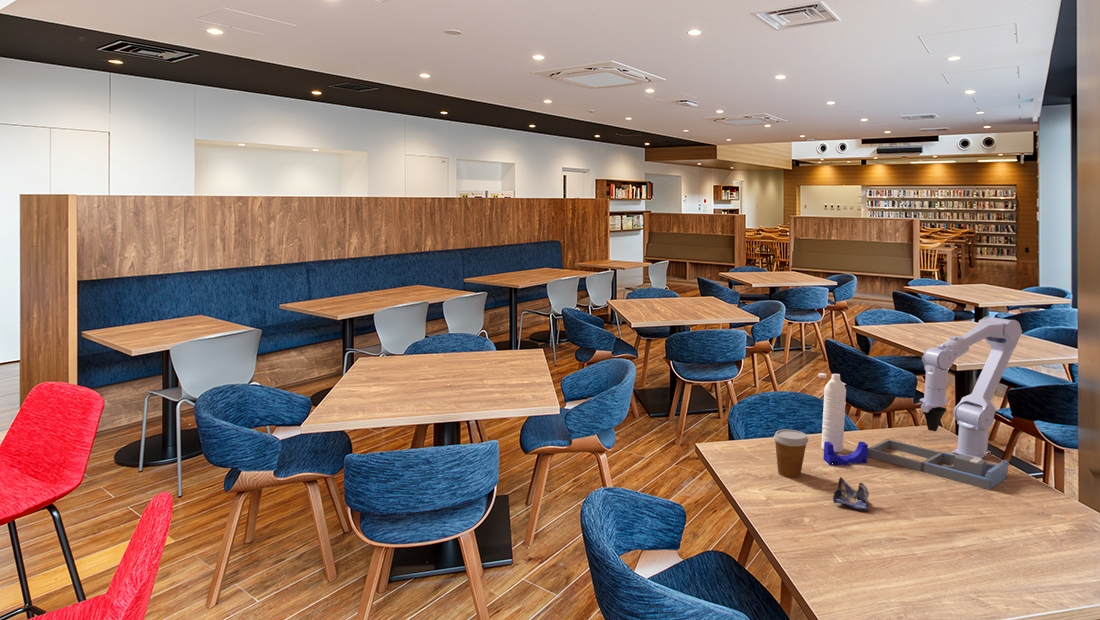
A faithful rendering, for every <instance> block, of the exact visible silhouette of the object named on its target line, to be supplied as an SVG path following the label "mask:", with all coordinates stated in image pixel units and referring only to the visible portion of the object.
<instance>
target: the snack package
mask: <svg viewBox="0 0 1100 620" xmlns="http://www.w3.org/2000/svg"><path fill="white" fill-rule="evenodd" d="M838 479H839V480H838V485H837V489H836V491H834V492H833V496H832V500H833V503H834V504H843V505H846V506H847V507H848V508H849V509H850V510H854V511H856V512H858V511H859V512H869V504H868V503H867V502H868V500H869V496H870V492H869V489H868V487H867V486H866V485H864V483H863V482H860V483H858V486H857V489H854V488H852V486H851V485H849V484H848V482H846V481H845V479H843V477H841V476H840V477H839V478H838ZM852 499H854V503H853V502H851V500H852Z"/></svg>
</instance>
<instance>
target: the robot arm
mask: <svg viewBox="0 0 1100 620" xmlns="http://www.w3.org/2000/svg"><path fill="white" fill-rule="evenodd" d="M1022 334H1023V330H1022V327H1021V324H1020V322H1019V321H1018V320H1016V319H1006V318H1000V317H995V316H993V317H992V316H990V315H987V316H984V317H983V318H981V319H979V320H978V322H977V325H976V326H974V327H973V328H972V329H971V330H969V331H967V332H966V333H964V335H962V336H958V335H956V336H955V335H952V336H951V337H950V338H949V339H948V340H946V341H944V342H943V343H941V344H940V343H939V345H938V346H936V347H929V348H927V349H926V350H925V351H924V352H923V356H921V361H922V363H923V365H924V371H925V379H924V380H925V382H924V392H923V395H924V396H923V397H922V398H920V399H919V402H921V403H922V404H921V405H920V412H922V413H923V415H924V418H925V421H926V422H925V423H926V427H927V430H928V431H931V432H937V431H938V428H939V426H940V423H941V420H942V418H943V416H944V414H945V413H946V411H947V408H946V407H945V406H947V404H948V399H949V398H948V397H947V386H948V385H947V384H948V374H949V373H948V372H949V369H950V368H951V367H952V366H953V365H954V362H955V361H956V360H957V359H958V358H959V357H961V356H963V355H965V354H966V353H968V352H969V350H970V346H973V345H975V344H977V343H978V342H981V341H982V340H985V342H986V343H987V344H988V345H989V346H990V348H991V350H990V352H989V354H988V357H987V358H986V361H985V363H984V366H983V368H982V370H981V372H980V374H979V376H978V378H977V380H976V382H975V383H976V384H975V385H974V388H973V390H972V391H971V393H970V394H968V395H966V396H963V397H961V399H960V401H959V402H958V403H957V405H956V406H955V407H954V409H953V417H954V419H955V420H956V421H957V423H956V424H957V425H958V435H957V447H956V448H955V449H954V450H952V451H951V454H954V455H959V454H961V455H965V456H969V457H973V458H974V457H976V458H980V459H983V458H985V457H986V456H988V455H989V454H991V450H988V445H989V435H990V433H989V428H990V427H991V426H992V425H993V423H994V421H995V420H994V419H995V414H996V411H997V409H996V406H995V405H994V404H993V403H992V401H991V400H992V398H993V396H994V394H995V391H996V390H997V388H998V385H999V383H1000V381H1001V379H1002V377H1003V374H1004V372H1005V370H1006V368H1007V366H1008V364H1009V361H1010V359H1011V357H1012V355H1013V352H1014V351H1015V350H1014V349H1016V347H1017V345H1018V343H1019V340H1020V338H1021V336H1022ZM984 451H985V452H988V453H989V454H987V453H985V452H984ZM984 453H985V454H984Z"/></svg>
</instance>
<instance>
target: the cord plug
mask: <svg viewBox="0 0 1100 620" xmlns="http://www.w3.org/2000/svg"><path fill="white" fill-rule="evenodd" d="M956 455H957V456H956V457H954V465H948V464H942V465H941V466H943V467H947V468H951V469H954V470H958V471H962V472H966V473H970V474H974V475H977V476H981V477H985V478H986V473H985V471H986V463H987V460H985V459H983V458H981V459H980V458H976V457H974V458H973V457H969V456H965V455H961V454H956Z"/></svg>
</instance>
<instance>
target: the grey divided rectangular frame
mask: <svg viewBox="0 0 1100 620" xmlns="http://www.w3.org/2000/svg"><path fill="white" fill-rule="evenodd" d="M885 449H886V450H888V449H892V450H895V451H898V452H899V451H900V452H903V453H907V454H911V455H914V456H919V457H923V458H927V459H925V460H924V461H919V460H915V459H912V458H908V457H904V456H901V455H897V454H893V453H890V452H886V451H885ZM957 455H958V454H955V453H950V452H949V453H948V452H945V451H943V452H941V451H938V450H934V449H929V448H926V447H921V446H917V445H913V444H909V443H906V442H900V441H897V440H893V439H888V438H887V439H884V440H883V441H880V442H878V443H876V444H874V445H871V446H870V447H868V452H867V456H868V457H867V458H871V459H875V460H879V461H883V462H887V463H890V464H893V465H897V466H901V467H905V468H908V469H912V470H915V471H919V472H923V473H926V474H931V475H934V476H938V477H941V478H943V479H944V478H946V479H949V480H952V481H955V482H959V483H962V484H966V485H970V486H974V487H977V486H978V487H977V488H981V489H985V490H991V489H992V488H994V487H996V486H997V485H998V484H999V483H1001V482H1002V481H1004V480H1005V479H1006V478H1008V470H1009V460H1008V459H1003V460H1001V461H1000V462H999V463H997V464H994V463H990V462H986V471H985V477H981V476H977V475H974V474H970V473H966V472H962V471H958V470H954V469H951V468H947V467H943V466H942V465H939V464H940V463H947V464H950V465H952V466H954V457H956V456H957ZM996 484H997V485H996Z"/></svg>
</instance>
